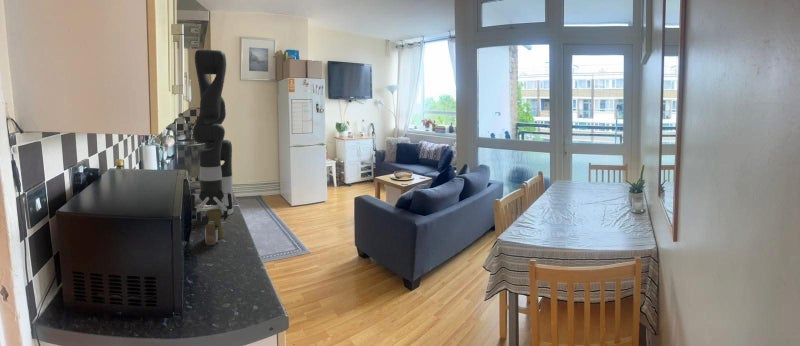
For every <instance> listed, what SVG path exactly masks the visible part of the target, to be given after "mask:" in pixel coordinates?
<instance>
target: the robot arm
mask: <svg viewBox="0 0 800 346" xmlns="http://www.w3.org/2000/svg"><path fill="white" fill-rule="evenodd" d="M194 64H195V71H196V76H197V82H198V87H199V95H200V100H199V101H200V102H199V115H198V118H197V121H196V122H195V124H194V127H193V130H192V137H193V139H194V141H195V142H197V143H198V144H204V148H205V149H203V150H201V151H199V189H200V190H199V191H200V193H198V194H196V193H192V194H191V196H190V210H191V211H192V212H196V220H197V221H198V223H199V222H200V223H202V209H203V208H204V207H205V206H211V208H210V209H213V208H218V209H220V210H221V211H222V215H221V216H223V221H227V219H228V218H229V215H232V214H234V194H233V193H234V191H233V190H234V189H233V164H232V162H233V158H232V157H233V147H232V146H233V145H232V142H231V141H230V140H229V139H224V138H225V134H226V131H225V128H224V126H223V125H222V124H223V123H224V121H225V119H226V116H227V115H226V113H227V111H226V102H225V100H224V97H222V92H223V89H224V84H225V77H226V72H227V58H226V54H225V52H223V51H222V50H218V49H217V50H214V49H197V50H196V51H195V53H194ZM208 75H215V77H214V79H213V80H212V82H211V81H210V80H209V76H208ZM221 161H224V162H223V164H222V163H221ZM198 199H200V201H201V202H200V204H199V205H198V206H196V201H197V200H198Z"/></svg>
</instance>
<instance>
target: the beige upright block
mask: <svg viewBox="0 0 800 346" xmlns="http://www.w3.org/2000/svg"><path fill="white" fill-rule="evenodd" d="M213 223H214V221H209V223H208V222H207V224H205V226H206V243H205V244H206V246H216V245H217V244H216V243H217V242H216V236H215V224H213Z"/></svg>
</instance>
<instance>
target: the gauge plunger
mask: <svg viewBox="0 0 800 346" xmlns="http://www.w3.org/2000/svg"><path fill="white" fill-rule="evenodd" d="M215 236H216V243H218V240H220V239H219V227H218V225H216V226H215ZM204 238H205V239H204V240H205V242H204V243H205V244H206V225H205V229H204Z"/></svg>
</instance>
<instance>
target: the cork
mask: <svg viewBox="0 0 800 346" xmlns="http://www.w3.org/2000/svg"><path fill="white" fill-rule="evenodd" d="M206 216H207V218H208V219H207V221H208V222H207V224H208V223H209V221H214V223H213V224H215V226H216V225H218V227H219V239H218V240H221V239H223V238H224V237H225V236H224V231H223V225H222V220H221V217H222V216H223V215H222V211H221V210H220V209H218V208H213V209H211V208H209V209H208V210H207V211H206Z"/></svg>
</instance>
